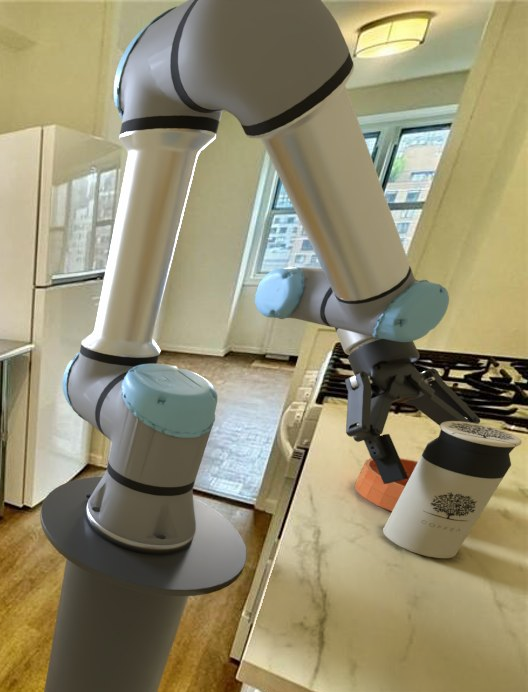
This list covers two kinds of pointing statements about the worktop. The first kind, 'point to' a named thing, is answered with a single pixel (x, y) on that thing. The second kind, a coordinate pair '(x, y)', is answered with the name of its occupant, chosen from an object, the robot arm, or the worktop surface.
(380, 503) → the bowl
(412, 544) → the travel mug
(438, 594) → the worktop surface
